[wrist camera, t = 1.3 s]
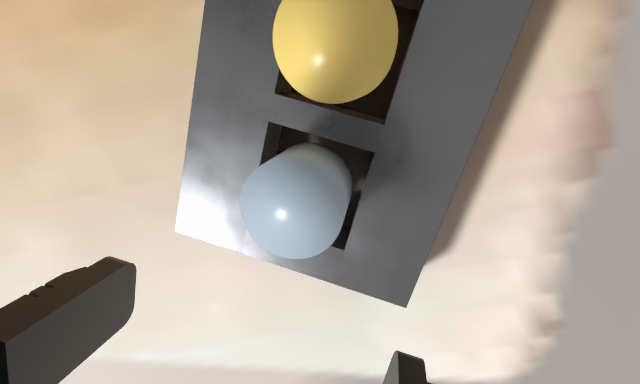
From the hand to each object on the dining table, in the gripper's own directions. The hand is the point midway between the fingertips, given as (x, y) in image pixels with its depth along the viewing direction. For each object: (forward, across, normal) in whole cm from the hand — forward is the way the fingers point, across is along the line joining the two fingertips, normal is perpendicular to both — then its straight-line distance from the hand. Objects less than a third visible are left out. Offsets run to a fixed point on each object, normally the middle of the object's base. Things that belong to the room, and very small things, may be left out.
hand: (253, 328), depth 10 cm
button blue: (+10, +1, -2) cm, 10 cm away
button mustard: (+10, +1, -9) cm, 13 cm away
